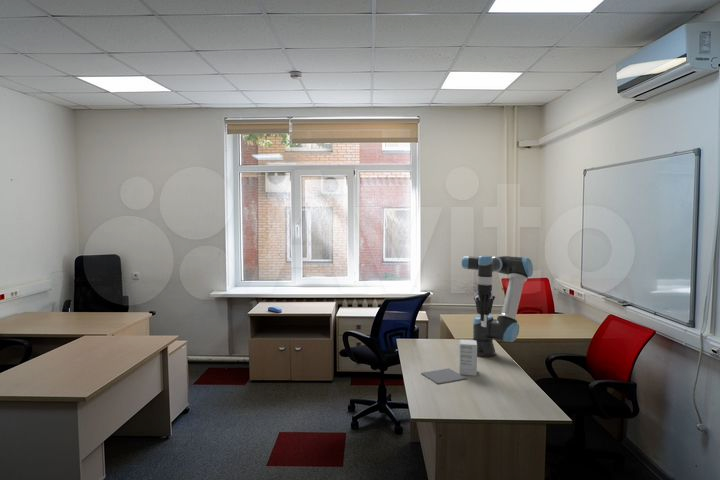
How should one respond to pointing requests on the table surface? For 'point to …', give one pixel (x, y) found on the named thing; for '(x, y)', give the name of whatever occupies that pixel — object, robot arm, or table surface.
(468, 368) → the supplement box
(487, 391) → the table surface
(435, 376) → the graphite mat
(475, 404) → the table surface
